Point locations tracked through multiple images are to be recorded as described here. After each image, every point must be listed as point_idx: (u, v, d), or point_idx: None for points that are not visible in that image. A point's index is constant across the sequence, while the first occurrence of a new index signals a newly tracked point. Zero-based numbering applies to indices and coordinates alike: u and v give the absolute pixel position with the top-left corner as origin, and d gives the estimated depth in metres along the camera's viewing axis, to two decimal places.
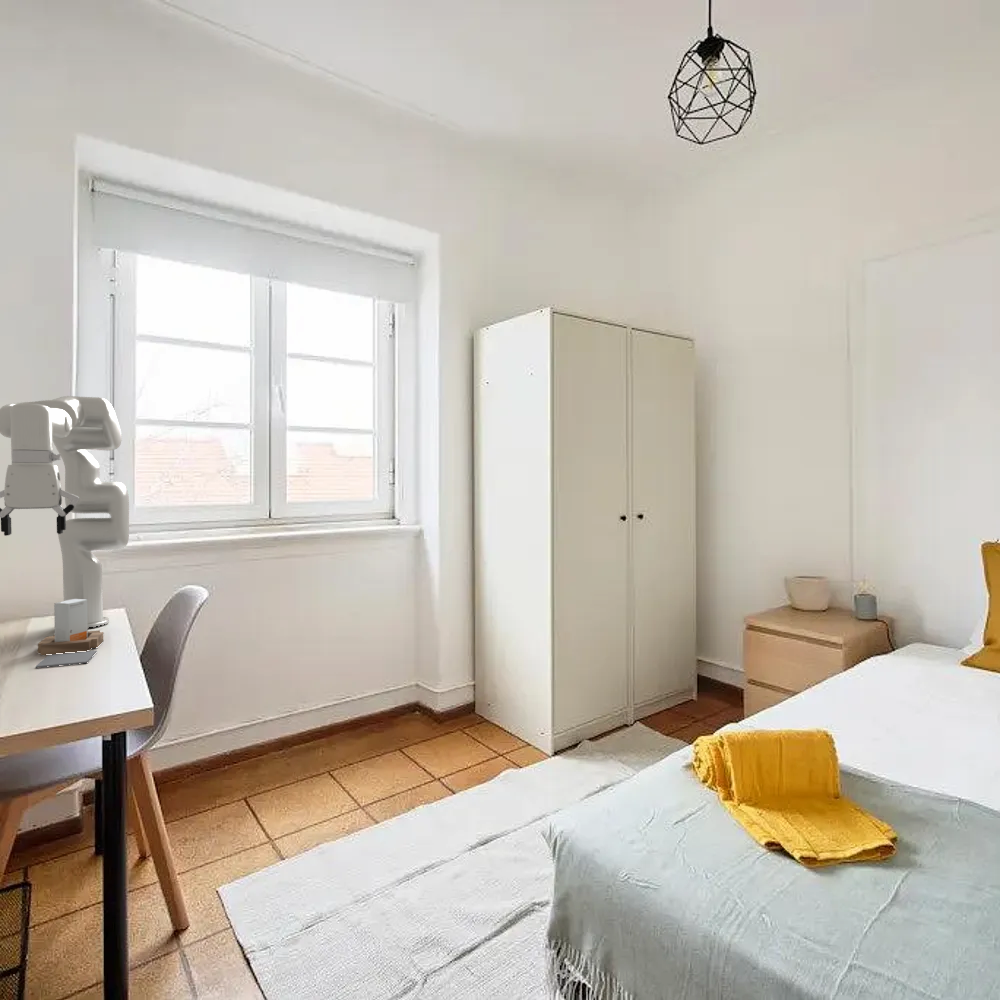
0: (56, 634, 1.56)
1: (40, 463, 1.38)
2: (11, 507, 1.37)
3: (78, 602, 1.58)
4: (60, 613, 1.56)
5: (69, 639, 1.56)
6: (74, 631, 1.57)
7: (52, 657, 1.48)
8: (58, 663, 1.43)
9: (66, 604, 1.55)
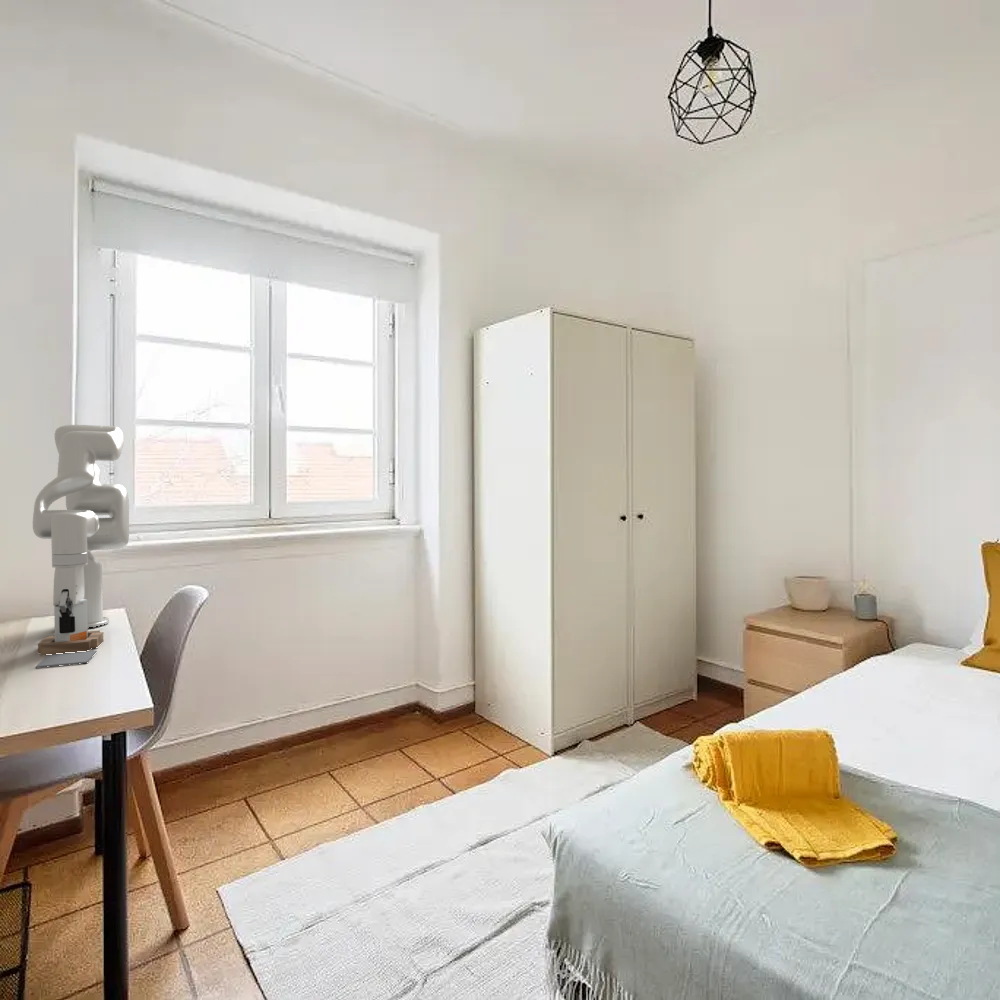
0: (56, 634, 1.56)
1: None
2: (75, 604, 1.56)
3: None
4: None
5: (69, 639, 1.56)
6: None
7: (52, 657, 1.48)
8: (58, 663, 1.43)
9: None
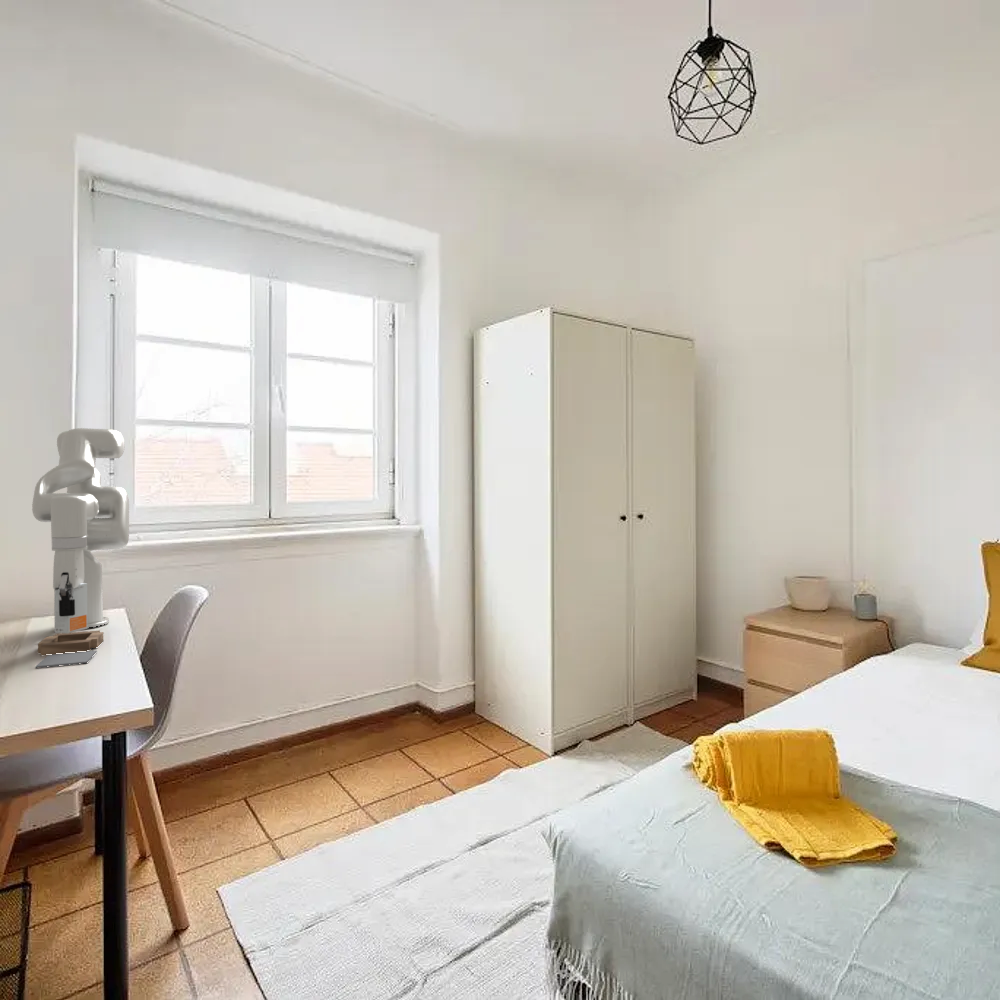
0: (56, 617, 1.56)
1: None
2: (75, 587, 1.56)
3: None
4: None
5: (69, 622, 1.56)
6: (74, 615, 1.57)
7: (52, 657, 1.48)
8: (58, 663, 1.43)
9: None
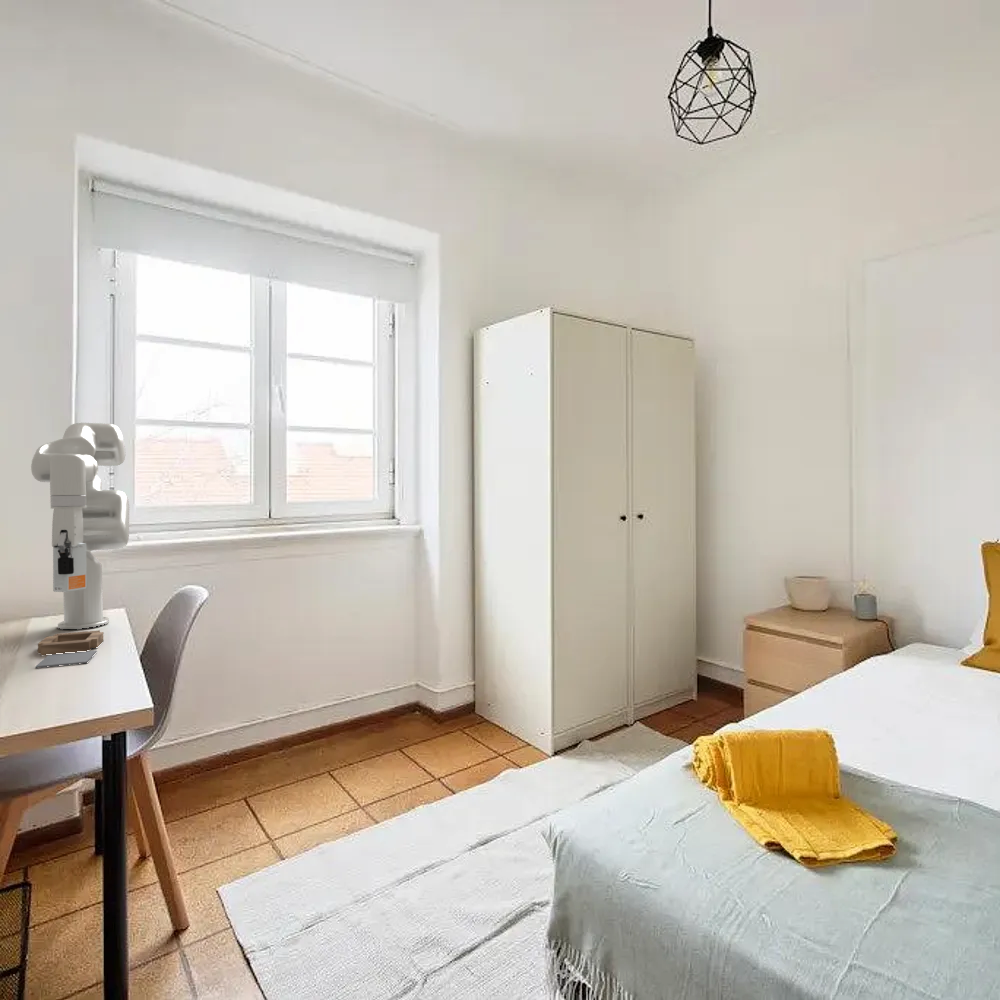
0: (55, 576, 1.55)
1: None
2: (74, 546, 1.55)
3: None
4: None
5: (68, 581, 1.55)
6: (73, 574, 1.56)
7: (52, 657, 1.48)
8: (58, 663, 1.43)
9: None
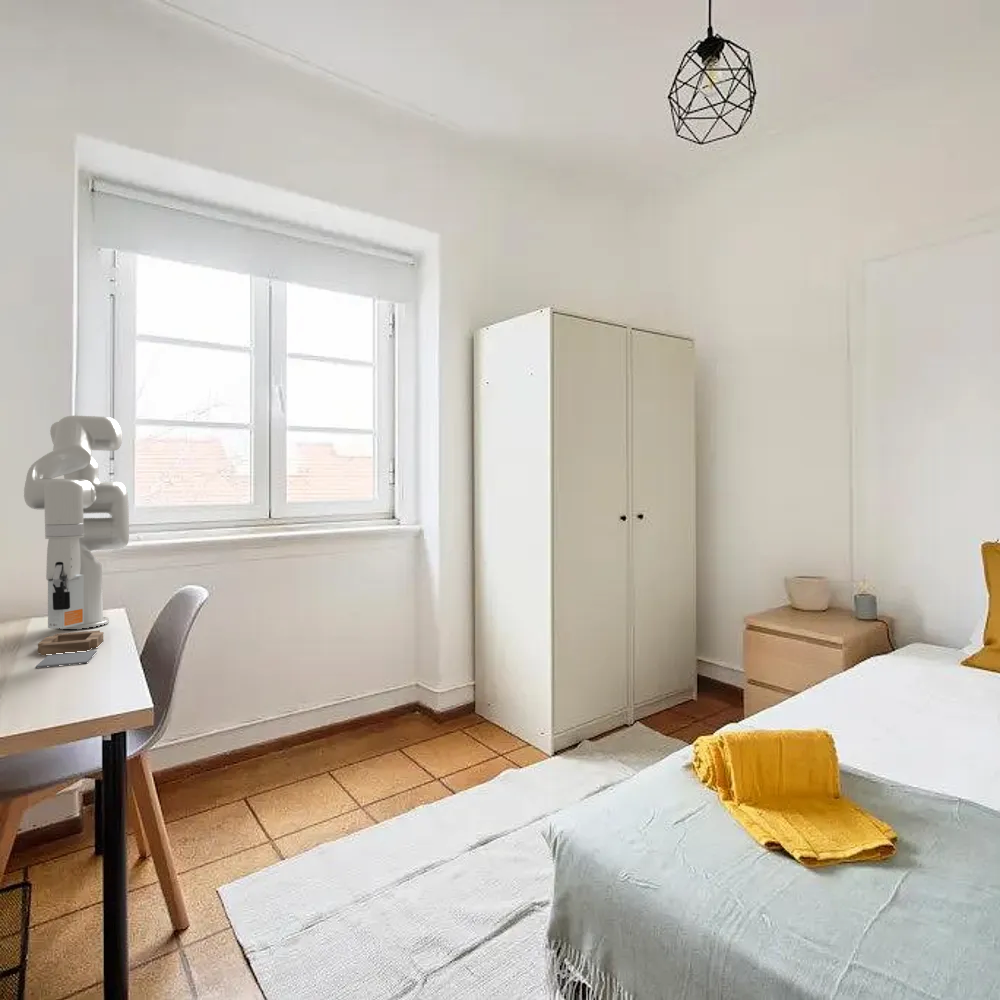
0: (49, 611, 1.44)
1: None
2: (70, 579, 1.44)
3: None
4: None
5: (63, 616, 1.44)
6: (69, 608, 1.45)
7: (52, 657, 1.48)
8: (58, 663, 1.43)
9: None
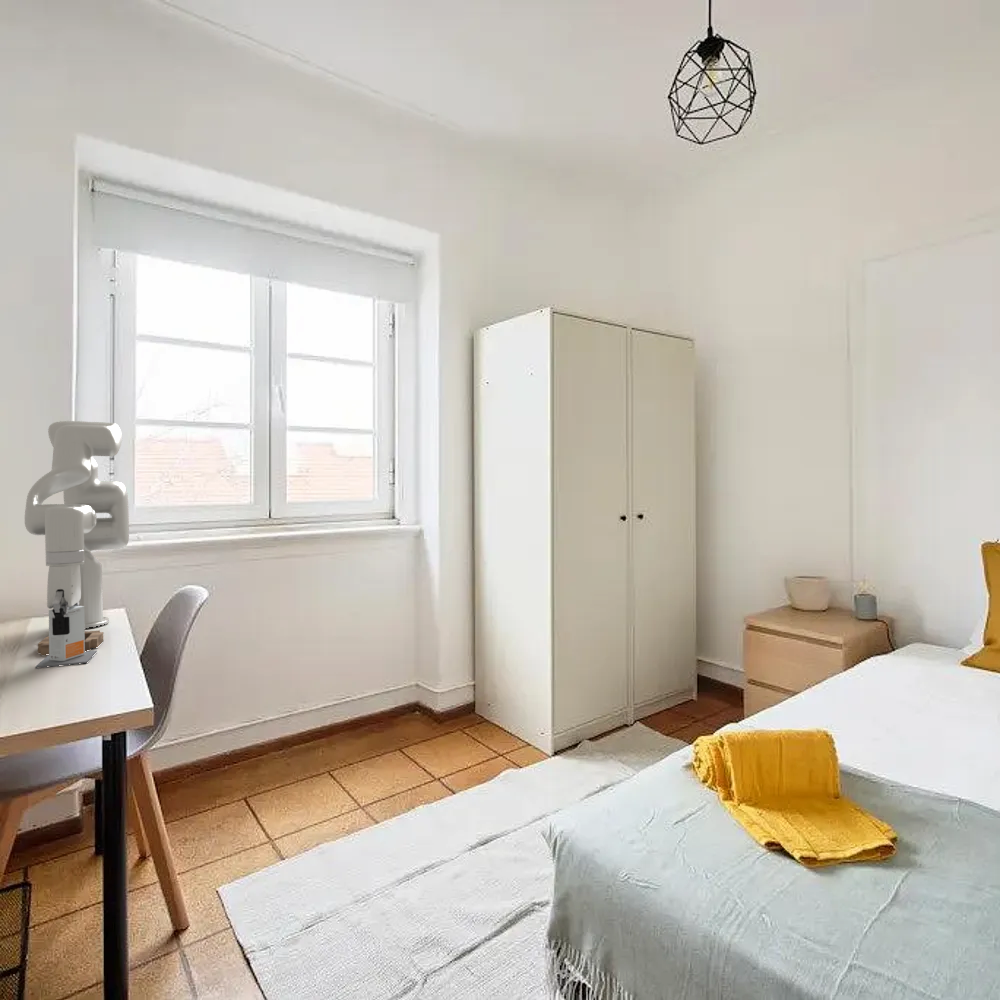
0: (51, 643, 1.45)
1: None
2: (71, 606, 1.44)
3: (74, 609, 1.47)
4: None
5: (65, 649, 1.45)
6: (70, 641, 1.46)
7: None
8: (58, 663, 1.43)
9: None
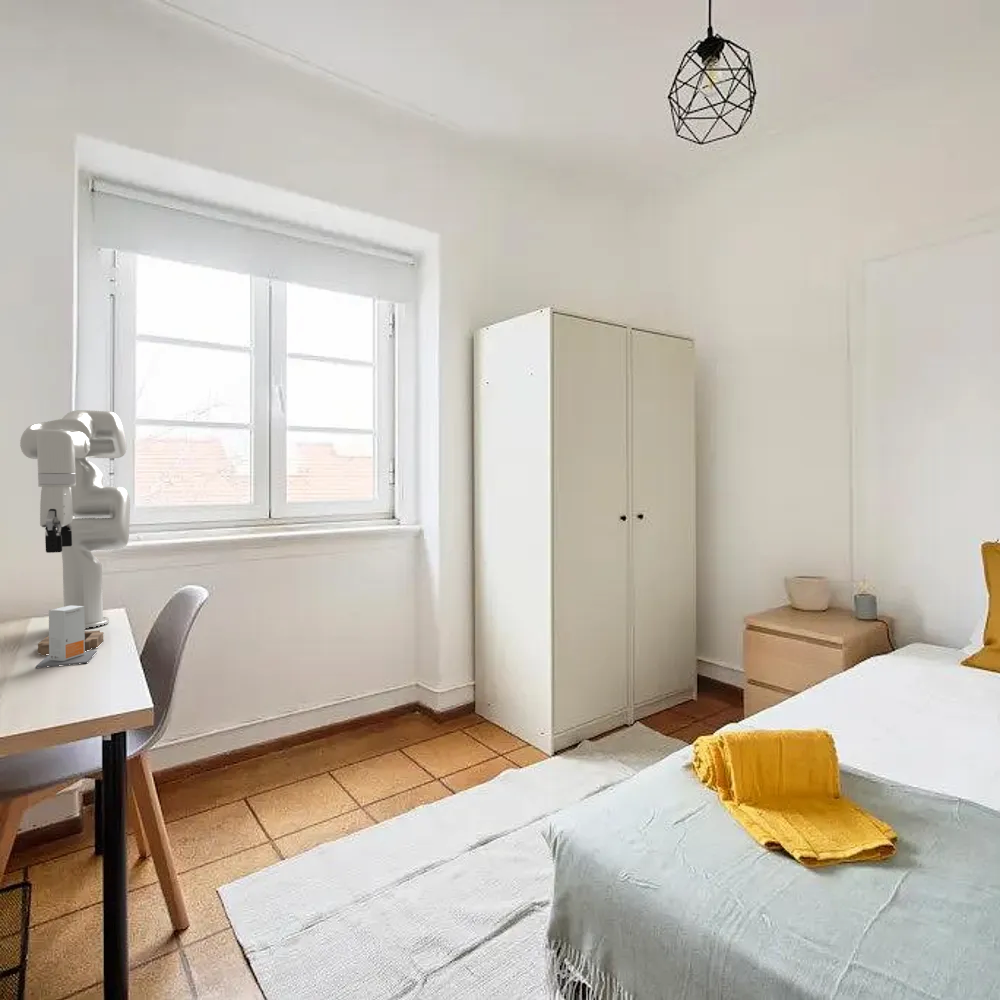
0: (51, 643, 1.45)
1: None
2: (63, 525, 1.51)
3: (74, 609, 1.47)
4: (55, 621, 1.45)
5: (65, 649, 1.45)
6: (70, 641, 1.46)
7: None
8: (58, 663, 1.43)
9: (61, 611, 1.44)
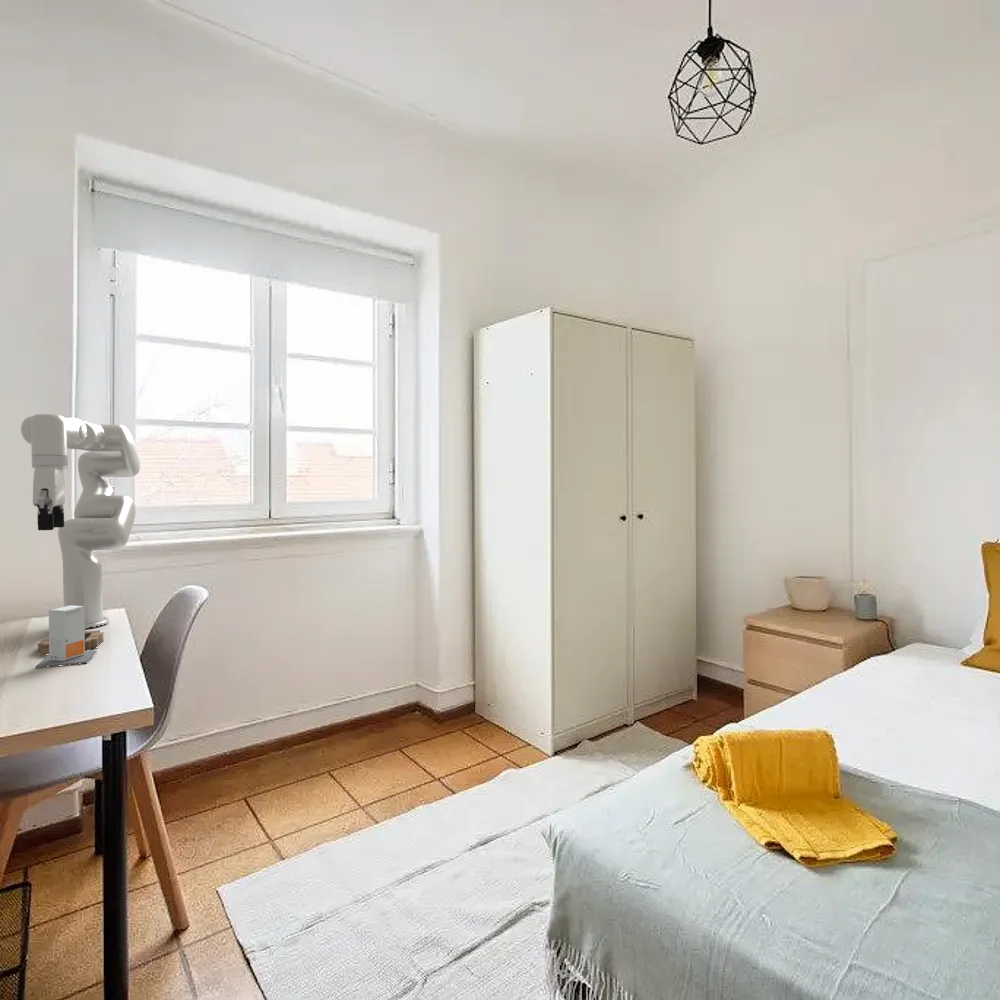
0: (51, 643, 1.45)
1: None
2: (55, 505, 1.57)
3: (74, 609, 1.47)
4: (55, 621, 1.45)
5: (65, 649, 1.45)
6: (70, 641, 1.46)
7: None
8: (58, 663, 1.43)
9: (61, 611, 1.44)
